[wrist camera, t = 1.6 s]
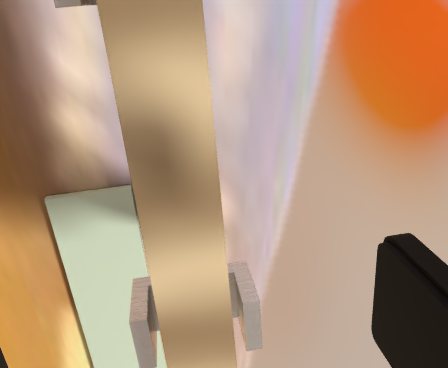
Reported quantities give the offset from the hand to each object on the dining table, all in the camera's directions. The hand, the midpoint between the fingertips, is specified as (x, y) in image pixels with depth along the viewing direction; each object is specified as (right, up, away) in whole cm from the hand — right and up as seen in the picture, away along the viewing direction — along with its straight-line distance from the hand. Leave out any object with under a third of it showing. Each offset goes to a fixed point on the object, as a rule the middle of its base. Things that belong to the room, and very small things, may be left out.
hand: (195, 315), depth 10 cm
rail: (-2, +4, +8) cm, 9 cm away
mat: (-8, -8, +24) cm, 27 cm away
